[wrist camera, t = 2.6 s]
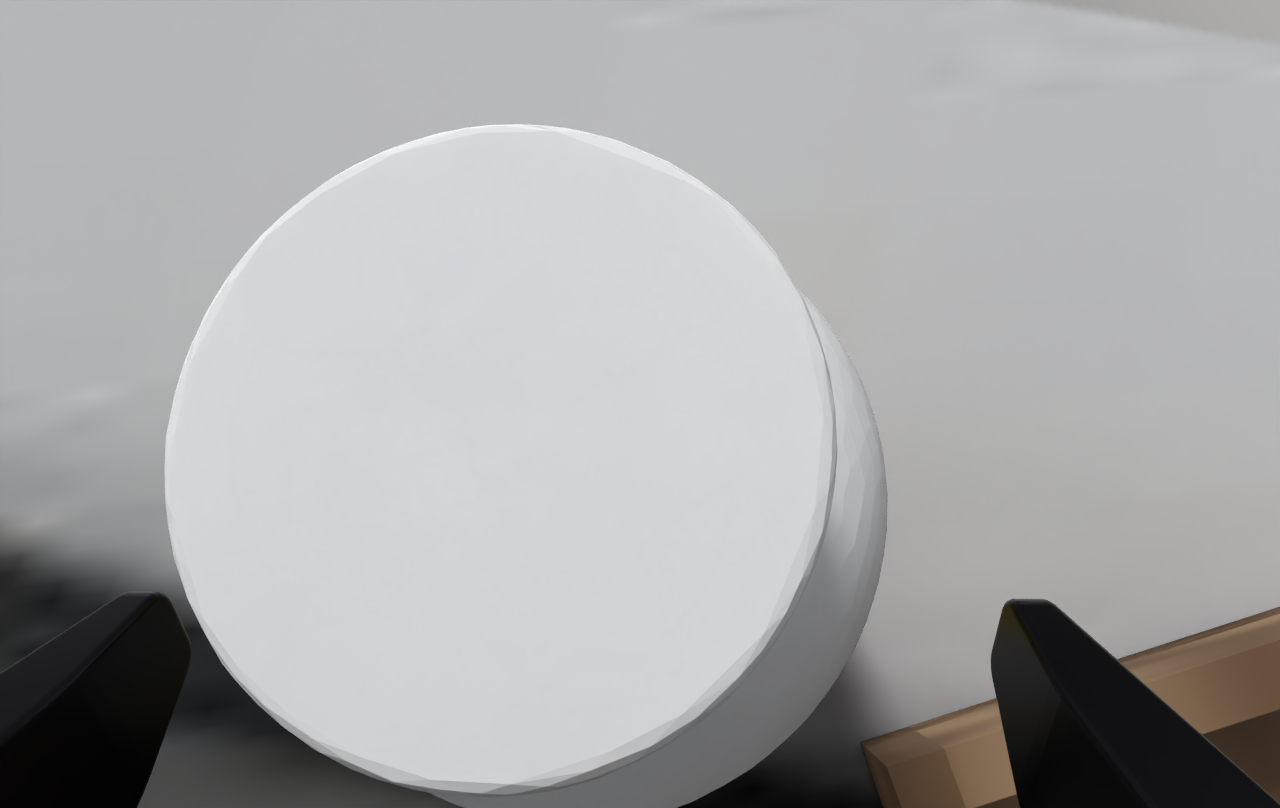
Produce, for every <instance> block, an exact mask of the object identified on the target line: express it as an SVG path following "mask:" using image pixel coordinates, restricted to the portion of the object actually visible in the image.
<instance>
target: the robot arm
mask: <svg viewBox="0 0 1280 808" xmlns="http://www.w3.org/2000/svg"><path fill="white" fill-rule="evenodd" d="M190 661H191V643H190V640H189V638H188V635H187V633H186V631H185V629H184V627H183V625H182V622H181V620H180V618H179V616H178V614H177V612H176V609H175V607H174V605H173V603H172V601H171V599H170V598H169V597H168V596H167V595H166V594H164V593H162V592H154V591H131V592H126V593H123V594H121V595H119V596H118V597H116V598H115V599H113V600H112V601H110V602H108V603H107V604H105V605H104V606H102V607H101V608H99V609H98V610H96V611H95V612H93V613H92V614H90V615H88V616H87V617H85V618H84V619H82V620H81V621H79V622H78V623H76V624H75V625H73V626H72V627H70V628H69V629H67V630H65V631H64V632H62V633H61V634H59V635H58V636H56V637H55V638H53V639H52V640H50V641H49V642H47V643H45V644H44V645H42V646H41V647H39V648H38V649H36V650H35V651H33V652H32V653H30V654H29V655H27V656H26V657H24V658H22V659H21V660H19V661H18V662H16V663H15V664H13V665H12V666H10V667H9V668H7V669H6V670H4V671H3V672H1V673H0V808H137V807H138V804H139V802H140V800H141V797H142V795H143V793H144V790H145V788H146V785H147V783H148V780H149V777H150V775H151V772H152V769H153V767H154V764H155V761H156V758H157V755H158V753H159V750H160V747H161V744H162V741H163V739H164V736H165V733H166V730H167V727H168V724H169V722H170V719H171V716H172V713H173V710H174V708H175V705H176V702H177V699H178V696H179V694H180V691H181V688H182V685H183V682H184V680H185V677H186V674H187V671H188V668H189V665H190ZM991 672H992V678H993V683H994V688H995V693H996V698H997V702H998V707H999V712H1000V717H1001V722H1002V726H1003V731H1004V736H1005V741H1006V746H1007V750H1008V755H1009V760H1010V765H1011V769H1012V774H1013V779H1014V784H1015V789H1016V793H1017V798H1018V802H1019V806H1020V808H1280V803H1279V802H1278V801H1277V800H1275V799H1274V798H1273V797H1272V796H1271V795H1270V794H1269V793H1268V792H1266V791H1265V790H1264V789H1263V788H1262V787H1261V786H1260V785H1259V784H1257V783H1256V782H1255V781H1254V780H1253V779H1252V778H1251V777H1249V776H1248V775H1247V774H1246V773H1245V772H1244V771H1243V770H1242V769H1240V768H1239V767H1238V766H1237V765H1236V764H1235V763H1234V762H1232V761H1231V760H1230V759H1229V758H1228V757H1227V756H1226V755H1225V754H1223V753H1222V752H1221V751H1220V750H1219V749H1218V748H1217V747H1215V746H1214V745H1213V744H1212V743H1211V742H1210V741H1209V740H1208V739H1206V738H1205V737H1204V736H1203V735H1202V734H1201V733H1200V732H1199V731H1197V730H1196V729H1195V728H1194V727H1193V726H1192V725H1191V724H1189V723H1188V722H1187V721H1186V720H1185V719H1184V718H1183V717H1182V716H1180V715H1179V714H1178V713H1177V712H1176V711H1175V710H1174V709H1172V708H1171V707H1170V706H1169V705H1168V704H1167V703H1166V702H1165V701H1163V700H1162V699H1161V698H1160V697H1159V696H1158V695H1157V694H1155V693H1154V692H1153V691H1152V690H1151V689H1150V688H1149V687H1148V686H1146V685H1145V684H1144V683H1143V682H1142V681H1141V680H1140V679H1139V678H1137V677H1136V676H1135V675H1134V674H1133V673H1132V672H1131V671H1129V670H1128V669H1127V668H1126V667H1125V666H1124V665H1123V664H1122V663H1120V662H1119V661H1118V660H1117V659H1116V658H1115V657H1114V656H1112V655H1111V654H1110V653H1109V652H1108V651H1107V650H1106V649H1105V648H1103V647H1102V646H1101V645H1100V644H1099V643H1098V642H1097V641H1095V640H1094V639H1093V638H1092V637H1091V636H1090V635H1089V634H1088V633H1086V632H1085V631H1084V630H1083V629H1082V628H1081V627H1080V626H1079V625H1077V624H1076V623H1075V622H1074V621H1073V620H1072V619H1071V618H1069V617H1068V616H1067V615H1066V614H1065V613H1064V612H1063V611H1062V610H1060V609H1059V608H1058V607H1057V606H1056V605H1055V604H1053V603H1051V602H1050V601H1048V600H1044V599H1011V600H1009V601H1007V602H1006V603H1005V605H1004V607H1003V609H1002V613H1001V617H1000V621H999V625H998V629H997V633H996V637H995V641H994V645H993V649H992V654H991Z"/></svg>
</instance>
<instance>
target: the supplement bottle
mask: <svg viewBox="0 0 1280 808" xmlns="http://www.w3.org/2000/svg"><path fill="white" fill-rule="evenodd" d="M164 472H165V502H166V511H167V519H168V527H169V533H170V539H171V544H172V549H173V554H174V559H175V562H176V565H177V568H178V571H179V574H180V577H181V580H182V583H183V586H184V589H185V592H186V595H187V598H188V601H189V603H190V605H191V607H192V609H193V611H194V613H195V615H196V617H197V619H198V621H199V623H200V625H201V627H202V629H203V631H204V632H205V634H206V636H207V638H208V640H209V641H210V643H211V645H212V647H213V649H214V650H215V652H216V654H217V656H218V657H219V659H220V661H221V663H222V664H223V665H224V667H225V668H226V669H227V670H228V672H229V673H230V674H231V675H232V677H233V678H234V679H235V680H236V681H237V683H238V684H239V685H240V686H241V687H242V688H243V689H244V690H245V691H246V692H247V693H248V694H249V695H250V697H251V698H252V699H253V700H254V701H255V702H256V703H257V704H258V705H259V706H260V707H261V708H262V709H263V710H265V711H266V712H267V713H268V714H269V715H270V716H271V717H273V718H274V719H275V720H276V721H277V722H278V723H279V724H281V725H282V726H283V727H284V728H286V729H287V730H288V731H290V732H291V733H292V734H294V735H295V736H296V737H298V738H299V739H301V740H302V741H303V742H305V743H306V744H307V745H309V746H310V747H311V748H313V749H314V750H316V751H318V752H320V753H322V754H324V755H326V756H327V757H329V758H331V759H333V760H335V761H337V762H339V763H341V764H342V765H344V766H346V767H348V768H350V769H352V770H355V771H357V772H360V773H362V774H365V775H367V776H370V777H373V778H375V779H378V780H381V781H385V782H388V783H392V784H395V785H399V786H403V787H406V788H410V789H413V790H417V791H425V792H428V793H431V794H433V795H435V796H437V797H440V798H442V799H444V800H446V801H449V802H451V803H453V804H455V805H458V806H461V807H464V808H677V807H680V806H682V805H685V804H688V803H691V802H693V801H695V800H697V799H699V798H701V797H703V796H704V795H706V794H708V793H710V792H712V791H714V790H716V789H718V788H720V787H722V786H724V785H726V784H727V783H729V782H730V781H732V780H734V779H735V778H737V777H739V776H740V775H742V774H743V773H745V772H747V771H748V770H750V769H751V768H753V767H754V766H755V765H756V764H758V763H759V762H760V761H762V760H763V759H764V758H765V757H767V756H768V755H769V754H770V753H772V752H773V751H774V750H775V749H776V748H777V747H778V746H779V745H780V744H781V743H783V742H784V741H785V740H786V739H787V738H788V737H789V736H790V735H791V734H793V733H794V732H795V731H796V730H797V729H798V728H799V727H800V726H801V725H802V724H803V722H804V721H805V720H806V719H807V718H808V717H809V716H810V715H811V714H812V712H813V711H814V710H815V708H816V707H817V706H818V704H819V703H820V702H821V701H822V699H823V698H824V697H825V695H826V694H827V693H828V691H829V690H830V688H831V687H832V685H833V684H834V683H835V681H836V680H837V678H838V677H839V675H840V673H841V671H842V670H843V668H844V666H845V664H846V663H847V661H848V659H849V657H850V656H851V654H852V652H853V650H854V648H855V647H856V644H857V642H858V640H859V637H860V635H861V633H862V630H863V628H864V626H865V623H866V621H867V618H868V615H869V612H870V609H871V605H872V602H873V599H874V596H875V592H876V589H877V585H878V581H879V577H880V571H881V566H882V561H883V556H884V548H885V540H886V532H887V496H888V495H887V486H886V477H885V467H884V457H883V451H882V446H881V441H880V437H879V432H878V429H877V425H876V421H875V418H874V414H873V411H872V408H871V405H870V402H869V399H868V396H867V393H866V391H865V388H864V386H863V384H862V381H861V379H860V377H859V375H858V373H857V371H856V369H855V367H854V365H853V363H852V361H851V359H850V357H849V355H848V354H847V352H846V350H845V349H844V347H843V345H842V344H841V342H840V340H839V338H838V337H837V335H836V333H835V332H834V331H833V329H832V328H831V327H830V325H829V324H828V323H827V322H826V320H825V319H824V318H823V316H822V315H821V314H820V313H819V311H818V310H817V309H816V308H815V306H814V305H813V304H812V303H811V302H810V301H809V300H808V299H807V298H806V296H805V295H804V294H803V293H801V292H800V291H799V290H798V288H797V286H796V285H795V283H794V282H793V280H792V278H791V277H790V275H789V273H788V272H787V270H786V268H785V267H784V265H783V264H782V262H781V260H780V259H779V257H778V255H777V254H776V252H775V251H774V250H773V249H772V248H771V247H770V245H769V244H768V243H767V242H766V241H765V239H764V238H763V237H762V236H761V235H760V233H759V232H758V231H757V230H756V229H755V227H754V226H753V225H752V224H751V223H750V222H749V221H748V220H747V219H746V218H745V217H743V216H742V215H741V214H740V213H739V212H738V211H737V210H736V209H735V208H734V207H733V206H732V205H731V204H730V203H728V202H727V201H726V200H724V199H723V198H722V197H720V196H719V195H718V194H717V193H715V192H714V191H713V190H711V189H710V188H709V187H707V186H706V185H705V184H703V183H702V182H700V181H699V180H698V179H696V178H694V177H693V176H691V175H689V174H688V173H686V172H685V171H683V170H681V169H680V168H678V167H676V166H675V165H673V164H671V163H670V162H668V161H665V160H663V159H661V158H659V157H656V156H654V155H652V154H649V153H647V152H645V151H642V150H640V149H637V148H635V147H632V146H630V145H628V144H625V143H623V142H620V141H618V140H614V139H611V138H607V137H603V136H600V135H595V134H591V133H587V132H582V131H578V130H574V129H569V128H562V127H552V126H542V125H527V124H512V125H487V126H478V127H468V128H463V129H458V130H452V131H447V132H442V133H437V134H434V135H431V136H427V137H424V138H421V139H418V140H414V141H411V142H408V143H405V144H402V145H399V146H397V147H394V148H391V149H389V150H386V151H384V152H381V153H379V154H377V155H375V156H373V157H371V158H368V159H366V160H364V161H362V162H360V163H358V164H355V165H353V166H352V167H350V168H348V169H347V170H345V171H343V172H341V173H340V174H338V175H336V176H335V177H333V178H331V179H330V180H328V181H326V182H325V183H323V184H322V185H321V186H319V187H318V188H317V189H315V190H314V191H313V192H311V193H310V194H309V195H307V196H306V197H305V198H303V199H302V200H301V201H299V202H298V203H297V204H296V205H294V206H293V207H292V208H291V209H289V210H288V211H287V212H286V213H285V214H284V215H283V216H282V217H281V218H279V219H278V220H277V221H276V222H275V223H274V224H273V225H272V226H271V227H270V228H268V229H267V230H266V231H265V232H264V233H263V234H262V235H261V236H260V237H259V238H258V240H257V241H256V242H255V243H254V244H253V246H252V247H251V248H250V249H249V250H248V252H247V253H246V254H245V255H244V256H243V257H242V259H241V260H240V261H239V263H238V264H237V265H236V267H235V268H234V269H233V270H232V272H231V273H230V274H229V276H228V277H227V279H226V280H225V282H224V284H223V285H222V287H221V288H220V290H219V292H218V293H217V295H216V296H215V298H214V300H213V302H212V303H211V305H210V307H209V309H208V311H207V312H206V314H205V316H204V318H203V320H202V322H201V325H200V327H199V329H198V332H197V334H196V336H195V338H194V340H193V342H192V344H191V347H190V350H189V352H188V355H187V357H186V360H185V362H184V365H183V368H182V372H181V375H180V378H179V382H178V385H177V388H176V392H175V395H174V400H173V405H172V409H171V414H170V419H169V424H168V429H167V434H166V449H165V468H164Z"/></svg>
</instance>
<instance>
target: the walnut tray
mask: <svg viewBox="0 0 1280 808" xmlns="http://www.w3.org/2000/svg"><path fill="white" fill-rule="evenodd" d="M1117 660H1118V661H1119V662H1120V663H1122V664H1123V665H1124V666H1125V667H1126V668H1127V669H1128V670H1129V671H1131V672H1132V673H1133V674H1134V675H1135V676H1136V677H1137V678H1139V679H1140V680H1141V681H1142V682H1143V683H1144V684H1145V685H1146V686H1148V687H1149V688H1150V689H1151V690H1152V691H1153V692H1154V693H1155V694H1157V695H1158V696H1159V697H1160V698H1161V699H1162V700H1163V701H1165V702H1166V703H1167V704H1168V705H1169V706H1170V707H1171V708H1172V709H1174V710H1175V711H1176V712H1177V713H1178V714H1179V715H1180V716H1182V717H1183V718H1184V719H1185V720H1186V721H1187V722H1188V723H1189V724H1191V725H1192V726H1193V727H1194V728H1195V729H1196V730H1197V731H1199V732H1200V733H1201V734H1202V735H1203V736H1204V737H1205V738H1206V739H1208V740H1209V741H1210V742H1211V743H1212V744H1213V745H1214V746H1215V747H1217V748H1218V749H1219V750H1220V751H1221V752H1222V753H1223V754H1225V755H1226V756H1227V757H1228V758H1229V759H1230V760H1231V761H1232V762H1234V763H1235V764H1236V765H1237V766H1238V767H1239V768H1240V769H1242V770H1243V771H1244V772H1245V773H1246V774H1247V775H1248V776H1249V777H1251V778H1252V779H1253V780H1254V781H1255V782H1256V783H1257V784H1259V785H1260V786H1261V787H1262V788H1263V789H1264V790H1265V791H1266V792H1268V793H1269V794H1270V795H1271V796H1272V797H1273V798H1274V799H1275V800H1277V801H1278V802H1279V803H1280V607H1278V608H1275V609H1272V610H1269V611H1265V612H1262V613H1259V614H1256V615H1253V616H1250V617H1247V618H1244V619H1241V620H1238V621H1235V622H1231V623H1228V624H1225V625H1222V626H1219V627H1216V628H1213V629H1210V630H1207V631H1204V632H1200V633H1197V634H1194V635H1191V636H1188V637H1185V638H1182V639H1179V640H1176V641H1173V642H1169V643H1166V644H1163V645H1160V646H1157V647H1154V648H1151V649H1148V650H1145V651H1142V652H1139V653H1135V654H1132V655H1129V656H1126V657H1123V658H1120V659H1117ZM860 743H861V746H862V749H863V752H864V754H865V757H866V760H867V763H868V766H869V769H870V771H871V774H872V777H873V780H874V783H875V786H876V789H877V791H878V794H879V797H880V800H881V803H882V806H883V808H1020V806H1019V802H1018V798H1017V793H1016V789H1015V784H1014V779H1013V774H1012V769H1011V765H1010V760H1009V755H1008V750H1007V746H1006V741H1005V736H1004V731H1003V726H1002V722H1001V717H1000V712H999V707H998V702H997V698H996V699H993V700H990V701H987V702H984V703H981V704H977V705H974V706H971V707H968V708H965V709H962V710H959V711H956V712H953V713H950V714H946V715H943V716H940V717H937V718H934V719H931V720H928V721H925V722H922V723H919V724H916V725H912V726H909V727H906V728H903V729H900V730H897V731H894V732H891V733H888V734H885V735H881V736H878V737H875V738H872V739H869V740H866V741H863V742H860Z"/></svg>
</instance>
